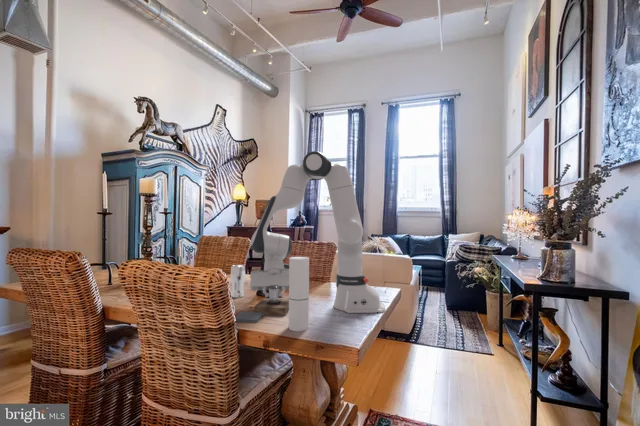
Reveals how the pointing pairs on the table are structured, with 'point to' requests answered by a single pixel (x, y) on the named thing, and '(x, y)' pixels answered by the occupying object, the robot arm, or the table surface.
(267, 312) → the walnut bore block
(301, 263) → the cylindrical container
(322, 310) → the table surface
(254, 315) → the slate mat
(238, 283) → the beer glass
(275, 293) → the metal plug
